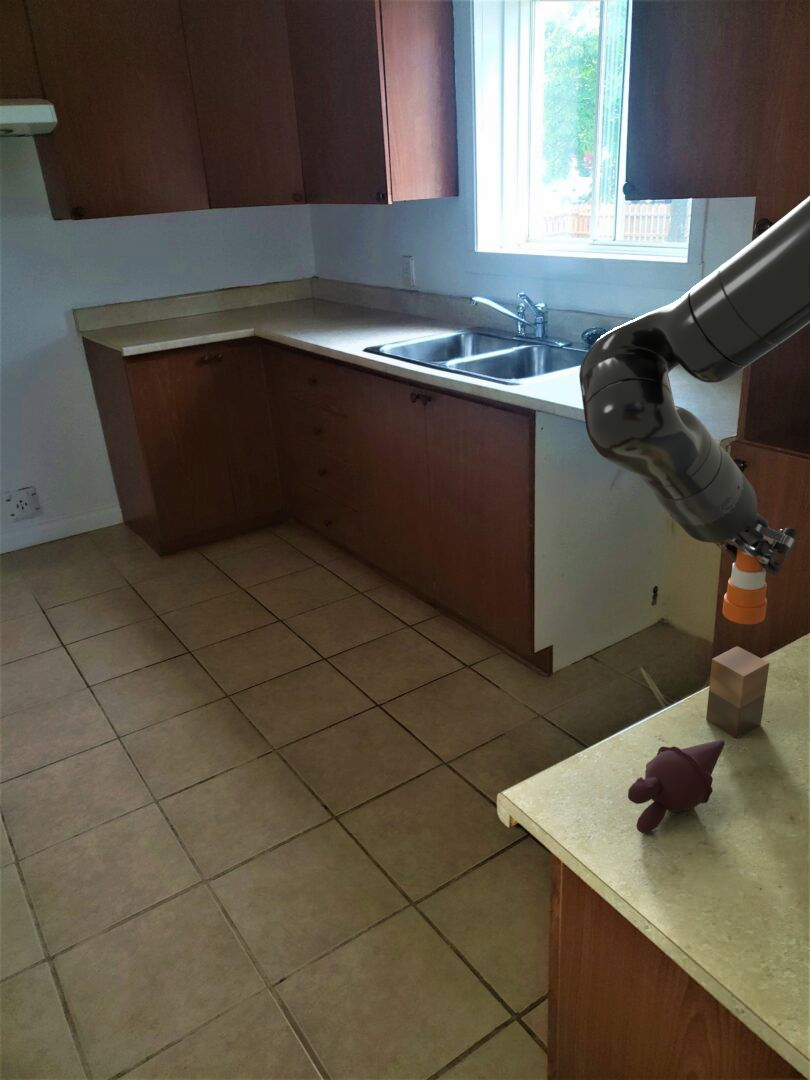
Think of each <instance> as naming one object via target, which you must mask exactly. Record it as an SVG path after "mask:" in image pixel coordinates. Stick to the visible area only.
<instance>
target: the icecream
mask: <svg viewBox="0 0 810 1080" xmlns="http://www.w3.org/2000/svg"><path fill="white" fill-rule="evenodd" d="M725 745H726V741H725V740H724V739H717V740H714V741H710V742H706V743H701V744H697V745H693V746H689V747H685V748H680V747H677V746H674V745H673V746H671V747H668V746H661V747H659V749H658V751H657V753H656V755H655V756H654V757H653V758H652V759H651V760H650V761H648V762H647V763H646V764H645V772H644V773H645V774H644V778H643V777H642V776H640V777H638V778H637V779H636V780H635V782H634V783H632V785H631V786H630V787H629V788H628V791H627V799H628V800H629V801H630V802H631V803H633V804H635V805H641V804H645V803H647V802H649V801H651V800H652V801H653V802H652V803H650V804H649V805H648V806H647V807H646V808H645V809H643V811H642V812H641V814H640V815H639V817H638V819H637V822H636V830H637V831H638V832H639V833H641V834H648V833H650V832H652V831H653V830H655V829H656V828H658V827H659V825H660V824H661V822H662V821H663V819H664V818H665V815H666V813H667V811H670V812H674V813H679V812H685V811H688V810H690V809H694V808H695V807H698V806H699V805H700V804H707V803H708V802H709V799H710V797H711V795H712V793H713V792H714V790H713V787H712V785H713V781H714V779H713V776H712V774H713V771H714V770H715V768H716V765H717V764H718V761H719V758H720V756H721V754H722V752H723V749H724V747H725Z"/></svg>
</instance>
